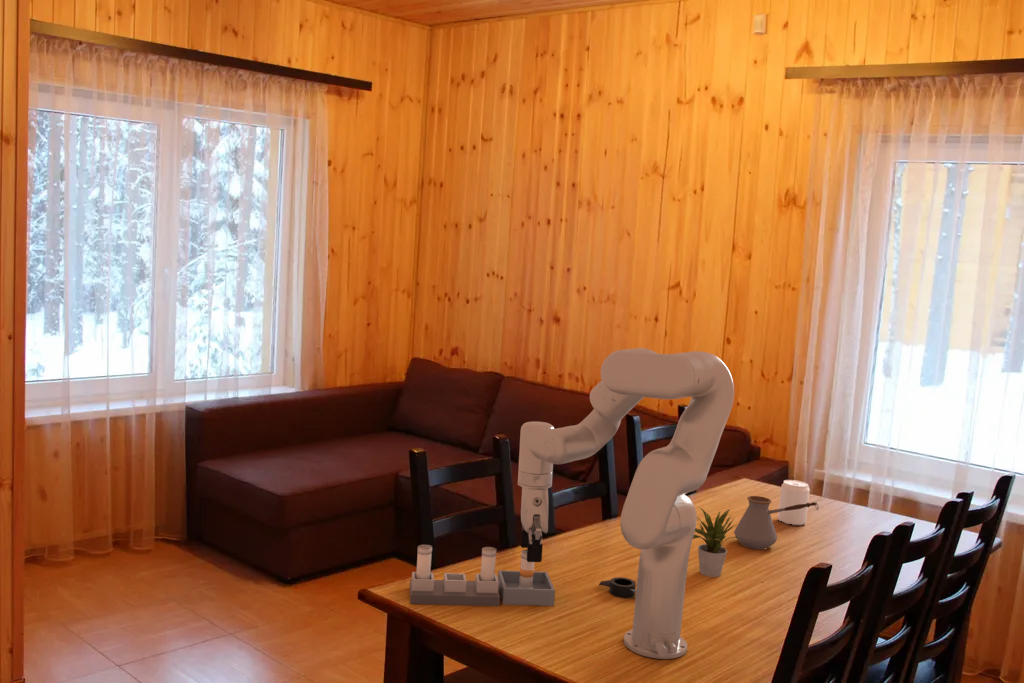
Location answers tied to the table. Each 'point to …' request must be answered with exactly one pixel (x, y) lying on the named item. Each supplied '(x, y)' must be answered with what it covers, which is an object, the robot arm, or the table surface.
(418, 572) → the fuse left
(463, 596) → the block
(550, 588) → the tray
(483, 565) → the fuse right
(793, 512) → the beverage can
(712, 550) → the house plant
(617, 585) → the black ring with handle
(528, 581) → the marked fuse
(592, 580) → the table surface
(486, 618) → the table surface
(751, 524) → the coffee pot
